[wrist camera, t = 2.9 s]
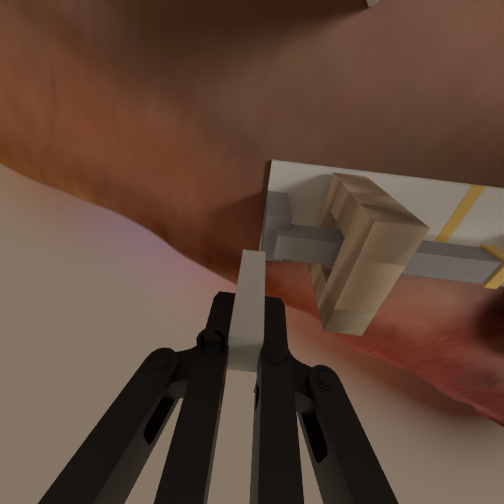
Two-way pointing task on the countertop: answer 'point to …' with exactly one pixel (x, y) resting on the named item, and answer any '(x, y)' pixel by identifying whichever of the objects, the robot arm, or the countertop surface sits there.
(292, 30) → the countertop surface
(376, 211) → the tan flat block
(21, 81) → the countertop surface
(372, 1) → the syrup box
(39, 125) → the countertop surface
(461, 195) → the rail
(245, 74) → the countertop surface
